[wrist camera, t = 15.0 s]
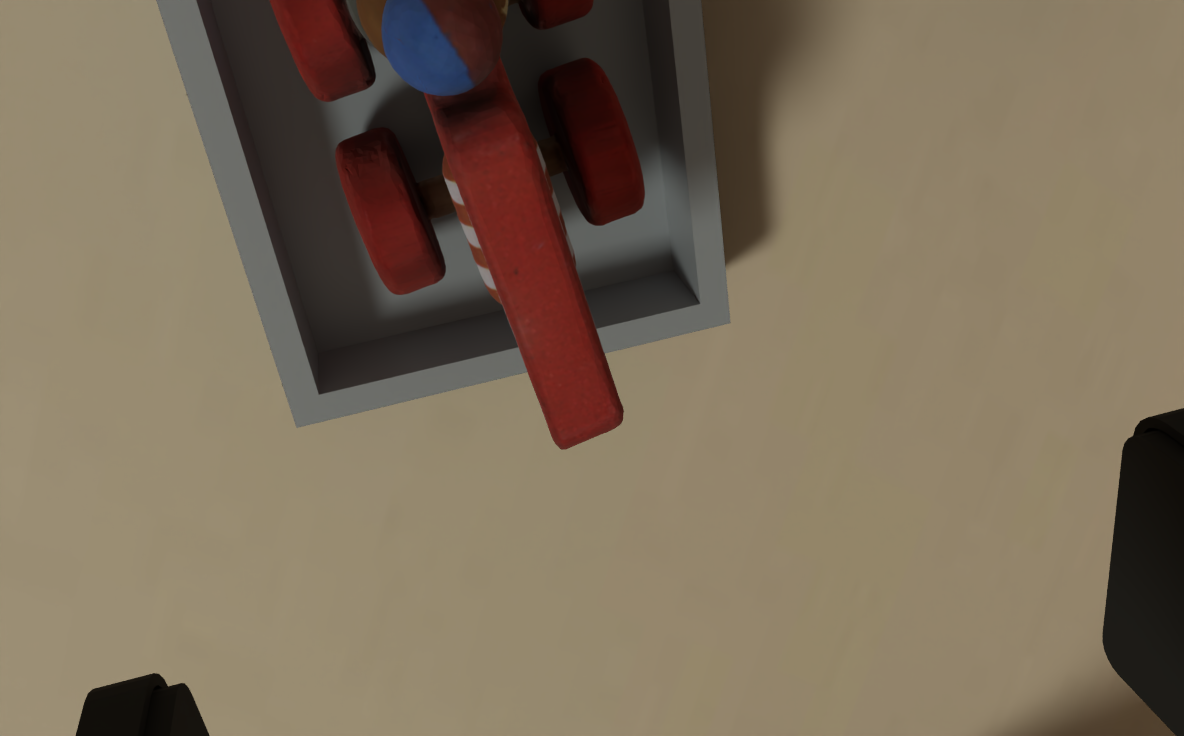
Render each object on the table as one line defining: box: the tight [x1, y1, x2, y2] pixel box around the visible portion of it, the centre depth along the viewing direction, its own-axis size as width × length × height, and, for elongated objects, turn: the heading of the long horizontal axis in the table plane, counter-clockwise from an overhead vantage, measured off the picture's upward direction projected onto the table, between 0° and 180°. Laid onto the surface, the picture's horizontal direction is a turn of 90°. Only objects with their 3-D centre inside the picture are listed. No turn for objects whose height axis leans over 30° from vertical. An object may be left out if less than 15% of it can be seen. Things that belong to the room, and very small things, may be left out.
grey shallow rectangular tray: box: [156, 0, 730, 428], centre depth 27 cm, size 17×12×3 cm
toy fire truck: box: [269, 0, 645, 449], centre depth 23 cm, size 7×12×10 cm, turn 16°
